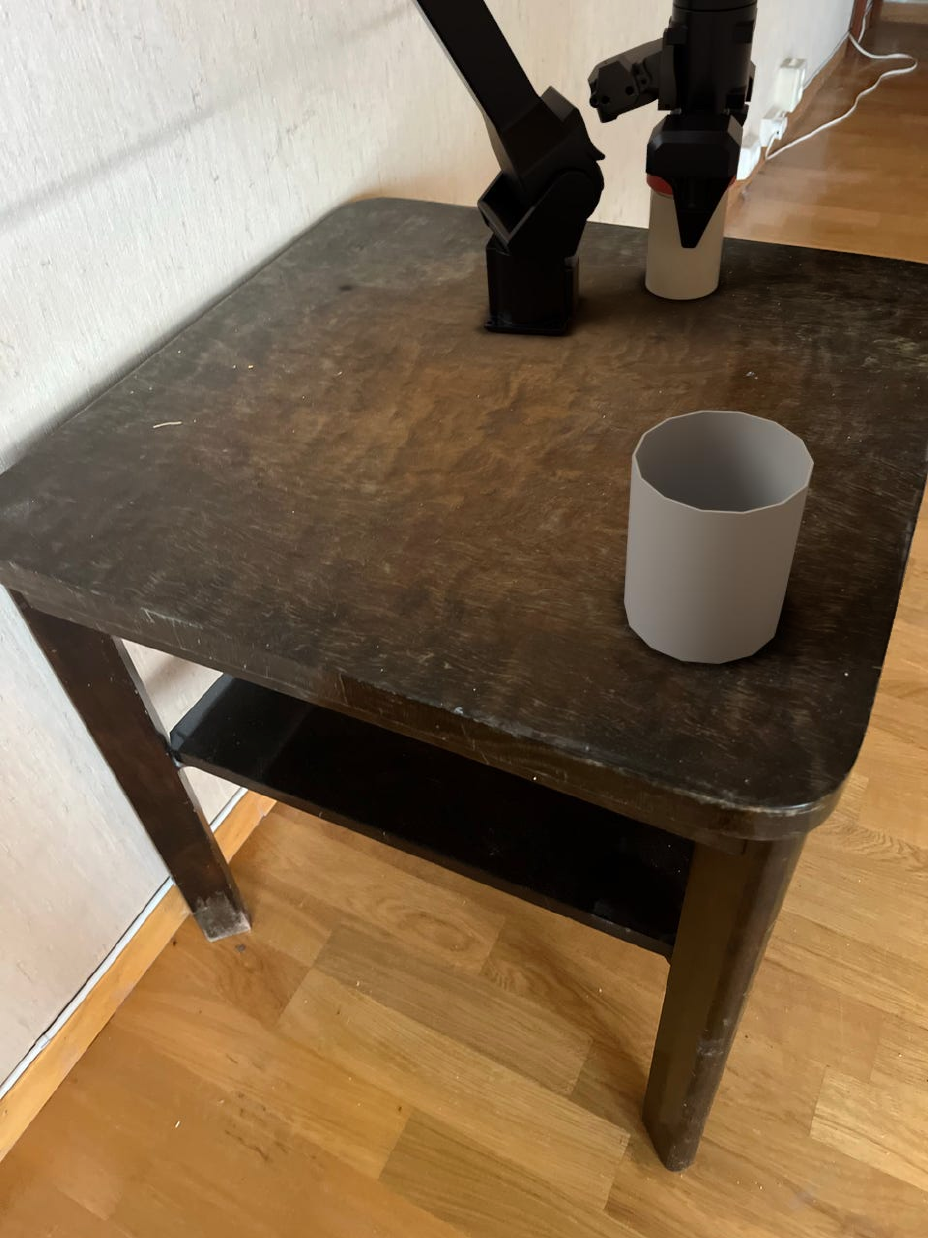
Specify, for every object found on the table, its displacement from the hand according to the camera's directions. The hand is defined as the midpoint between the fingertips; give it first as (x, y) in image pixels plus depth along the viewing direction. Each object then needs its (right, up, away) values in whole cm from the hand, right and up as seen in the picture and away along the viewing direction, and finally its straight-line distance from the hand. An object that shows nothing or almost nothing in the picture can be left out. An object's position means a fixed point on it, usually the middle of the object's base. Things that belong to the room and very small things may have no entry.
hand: (693, 226), depth 76 cm
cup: (-5, -31, -24) cm, 39 cm away
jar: (0, -3, +3) cm, 5 cm away
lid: (-1, +3, -3) cm, 5 cm away
